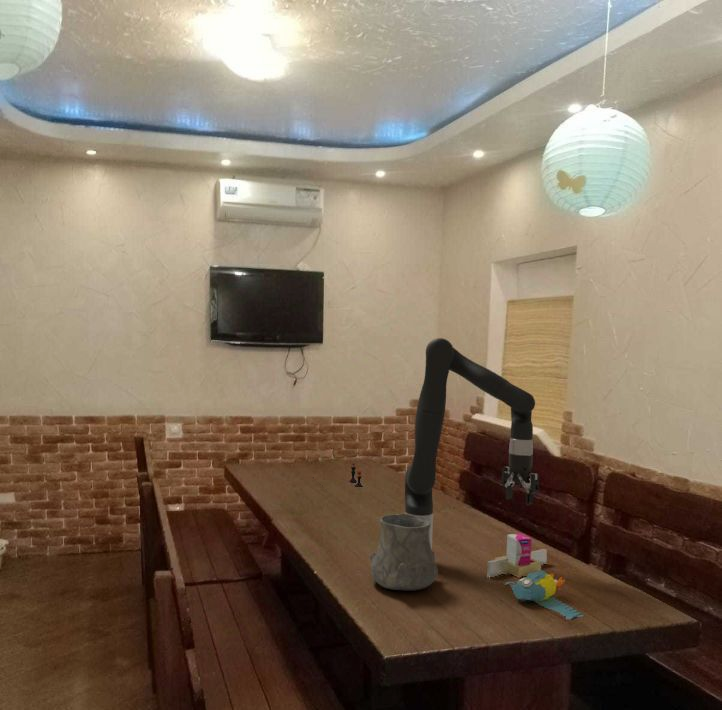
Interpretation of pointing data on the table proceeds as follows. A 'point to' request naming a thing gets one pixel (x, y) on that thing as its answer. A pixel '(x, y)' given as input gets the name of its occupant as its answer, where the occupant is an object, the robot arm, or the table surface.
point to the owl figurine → (543, 592)
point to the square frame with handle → (504, 566)
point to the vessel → (404, 553)
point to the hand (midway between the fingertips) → (518, 501)
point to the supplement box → (518, 549)
